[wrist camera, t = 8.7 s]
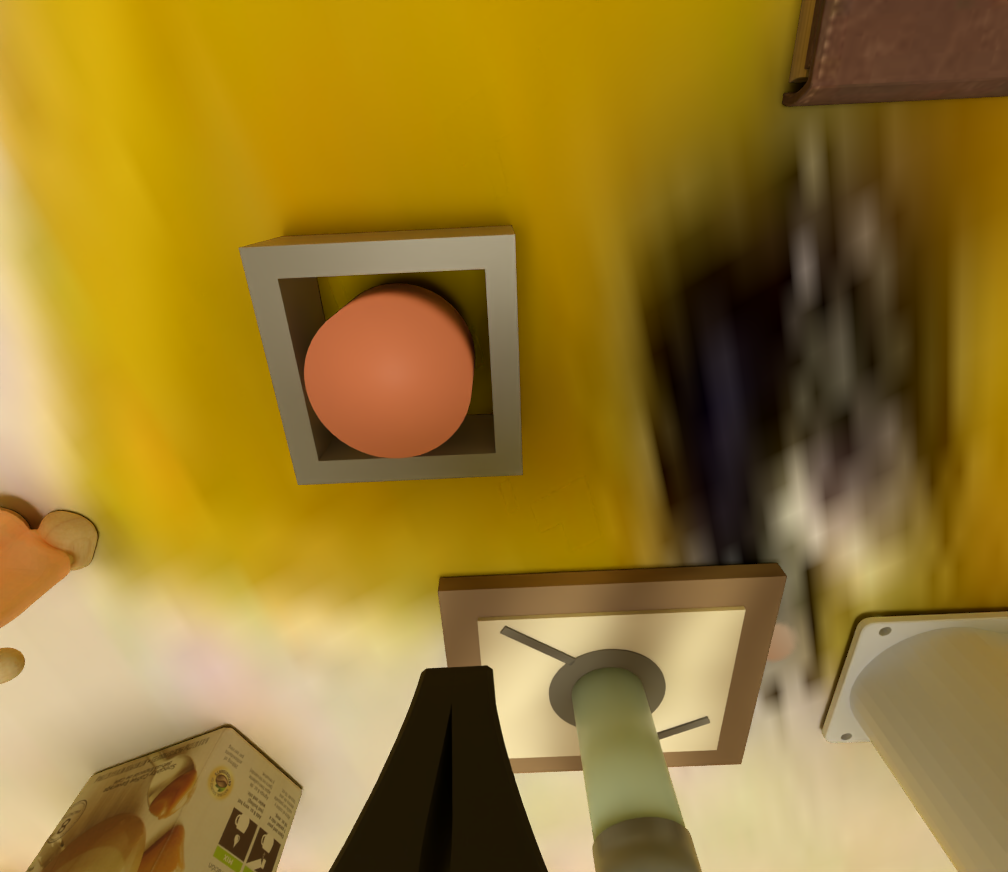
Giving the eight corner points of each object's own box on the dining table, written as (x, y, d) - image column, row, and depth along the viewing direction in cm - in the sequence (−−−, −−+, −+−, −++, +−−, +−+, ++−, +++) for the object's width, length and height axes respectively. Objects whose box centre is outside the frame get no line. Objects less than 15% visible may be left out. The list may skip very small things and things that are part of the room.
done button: (469, 279, 15) (465, 297, 13) (479, 419, 17) (477, 455, 15) (318, 287, 15) (287, 305, 13) (344, 424, 17) (322, 461, 15)
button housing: (511, 225, 16) (515, 234, 13) (518, 433, 19) (522, 474, 16) (281, 236, 16) (238, 247, 13) (325, 441, 19) (298, 485, 16)
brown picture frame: (777, 563, 22) (790, 581, 21) (734, 748, 27) (743, 770, 26) (439, 577, 22) (437, 596, 21) (462, 759, 27) (461, 781, 26)
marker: (647, 663, 23) (719, 887, 16) (643, 715, 24) (708, 942, 17) (568, 668, 23) (603, 894, 16) (570, 720, 24) (602, 948, 17)
